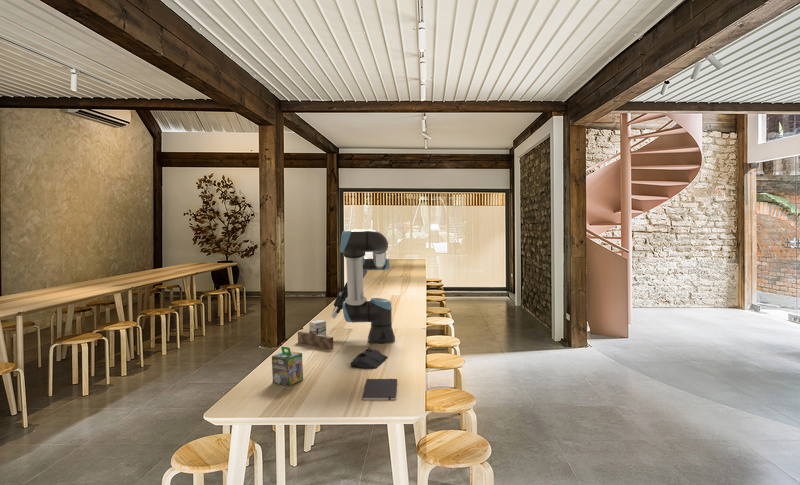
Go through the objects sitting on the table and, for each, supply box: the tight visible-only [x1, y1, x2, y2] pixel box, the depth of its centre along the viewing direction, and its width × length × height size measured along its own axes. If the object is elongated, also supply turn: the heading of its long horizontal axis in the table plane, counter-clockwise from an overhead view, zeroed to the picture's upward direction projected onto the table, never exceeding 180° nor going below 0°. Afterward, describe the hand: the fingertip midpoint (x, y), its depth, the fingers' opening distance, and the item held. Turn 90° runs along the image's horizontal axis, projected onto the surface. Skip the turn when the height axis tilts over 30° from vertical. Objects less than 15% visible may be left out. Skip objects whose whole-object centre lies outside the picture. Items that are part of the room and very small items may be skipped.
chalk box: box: [271, 346, 304, 387], centre depth 201 cm, size 9×9×15 cm
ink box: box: [308, 319, 327, 336], centre depth 266 cm, size 8×5×12 cm, turn 142°
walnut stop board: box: [297, 330, 334, 350], centre depth 260 cm, size 25×2×6 cm, turn 53°
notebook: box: [361, 378, 398, 401], centre depth 190 cm, size 13×2×21 cm
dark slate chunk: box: [349, 347, 389, 370], centre depth 229 cm, size 15×22×5 cm
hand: (332, 317), depth 278 cm, fingers closed
